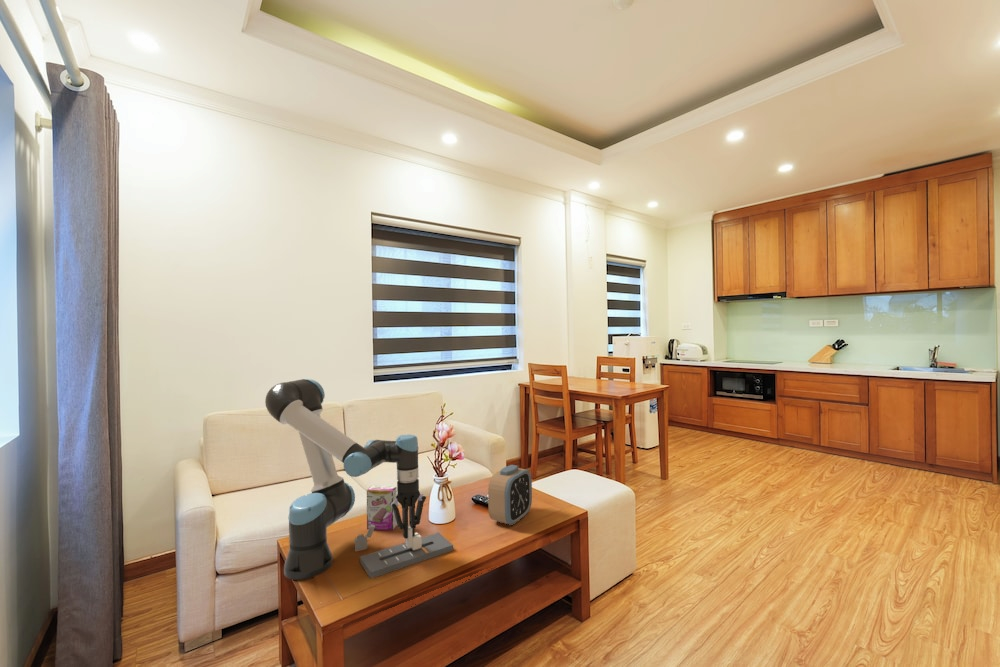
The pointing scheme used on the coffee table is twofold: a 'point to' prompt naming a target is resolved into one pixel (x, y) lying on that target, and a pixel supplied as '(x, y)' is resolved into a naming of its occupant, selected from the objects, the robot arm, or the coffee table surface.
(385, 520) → the candy bar box
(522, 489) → the alarm clock
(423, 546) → the console
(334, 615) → the coffee table surface
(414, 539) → the fader knob
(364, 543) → the lighter
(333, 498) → the robot arm
